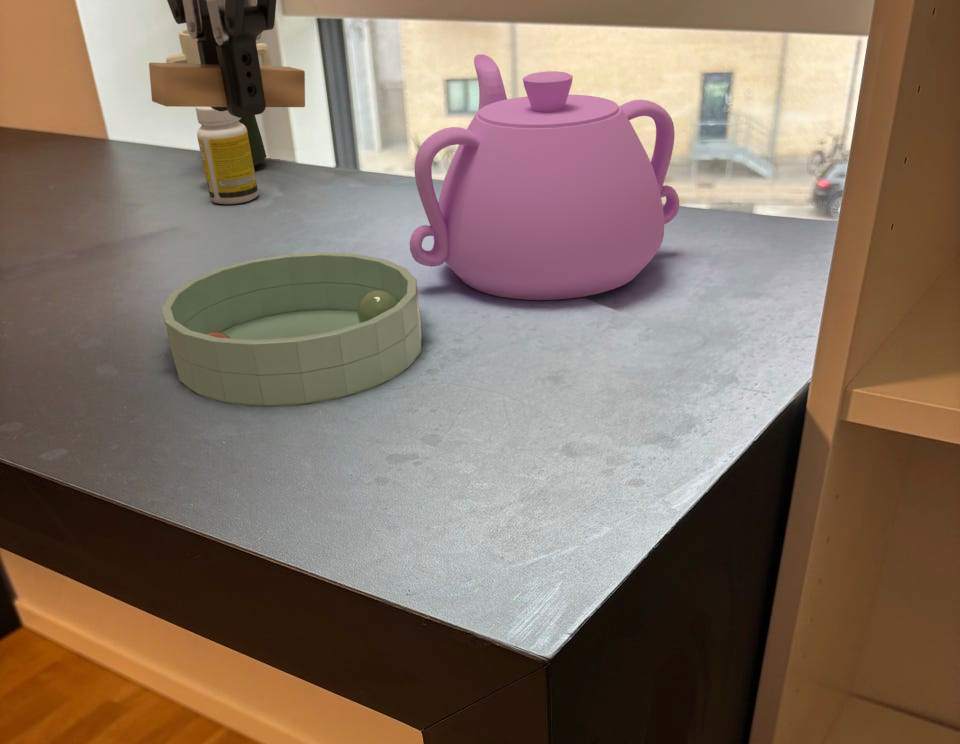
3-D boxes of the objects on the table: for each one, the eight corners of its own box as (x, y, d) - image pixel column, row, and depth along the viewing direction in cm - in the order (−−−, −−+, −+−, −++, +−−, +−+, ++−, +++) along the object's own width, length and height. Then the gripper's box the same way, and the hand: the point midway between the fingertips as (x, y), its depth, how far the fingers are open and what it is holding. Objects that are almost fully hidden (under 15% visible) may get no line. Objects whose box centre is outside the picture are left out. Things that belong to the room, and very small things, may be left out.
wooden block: (289, 102, 64) (289, 66, 63) (305, 107, 62) (305, 70, 61) (151, 101, 59) (148, 62, 58) (165, 106, 58) (162, 66, 56)
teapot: (596, 210, 91) (599, 33, 83) (732, 283, 75) (755, 72, 67) (363, 252, 85) (341, 65, 77) (458, 340, 69) (443, 117, 61)
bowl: (248, 440, 59) (233, 367, 56) (140, 358, 69) (122, 293, 67) (470, 361, 66) (466, 293, 64) (342, 298, 77) (334, 237, 74)
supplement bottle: (268, 194, 101) (252, 100, 95) (235, 207, 98) (217, 111, 92) (234, 189, 103) (216, 97, 98) (200, 202, 100) (180, 107, 95)
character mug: (274, 153, 114) (253, 19, 106) (297, 165, 110) (276, 26, 101) (180, 169, 111) (150, 32, 103) (200, 183, 106) (170, 39, 98)
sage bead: (374, 304, 66) (383, 347, 68) (406, 286, 67) (414, 329, 69) (343, 296, 67) (353, 339, 69) (375, 279, 69) (384, 322, 71)
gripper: (306, -288, 48) (351, 118, 58) (182, -263, 56) (241, 86, 67) (156, -289, 44) (233, 142, 55) (49, -262, 53) (134, 105, 64)
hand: (237, 110), depth 61 cm, fingers closed on wooden block, 2 cm apart
